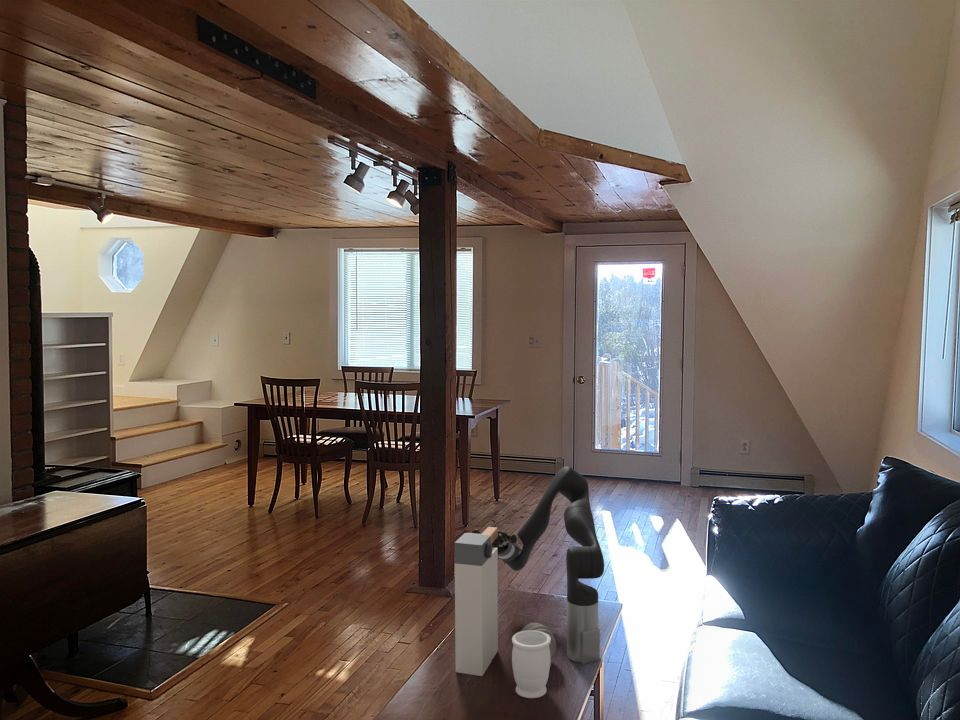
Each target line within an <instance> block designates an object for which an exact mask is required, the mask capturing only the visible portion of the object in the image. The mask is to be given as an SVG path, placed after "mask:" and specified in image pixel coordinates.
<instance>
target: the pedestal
mask: <svg viewBox="0 0 960 720" xmlns="http://www.w3.org/2000/svg"><path fill="white" fill-rule="evenodd" d="M470 533H471V532H464V533H463V534H462V535H461V536H459V537H458V539H457V540H456V541H454V614H455V615H454V618H455V619H454V622H455V623H454V625H455V626H454V627H455V628H454V630H455V631H454V632H455V634H454V635H455V638H454V640H455V647H454V648H455V649H454V650H455V652H454V653H455V673H459V674H465V675H466V674H467V675H473V676H477V677H478V676H480V677H483V676H484V675H485V673H486V671H487V670H488V668H489V666H490V665H491V663H492V662H493V660H494V658H495V657H496V655H497V653H498V648H499V637H498V635H499V633H498V632H499V631H498V629H499V623H498V622H499V620H498V619H499V617H498V616H499V613H498V612H499V608H498V607H499V606H498V601H499V599H498V598H499V596H498V594H499V591H498V588H499V587H498V586H499V583H498V577H499V576H498V574H499V573H498V567H499V566H498V562H499V561H498V560H499V557H498V548H493V547H492V544H491V535H481V534H470ZM492 659H493V660H492Z"/></svg>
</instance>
